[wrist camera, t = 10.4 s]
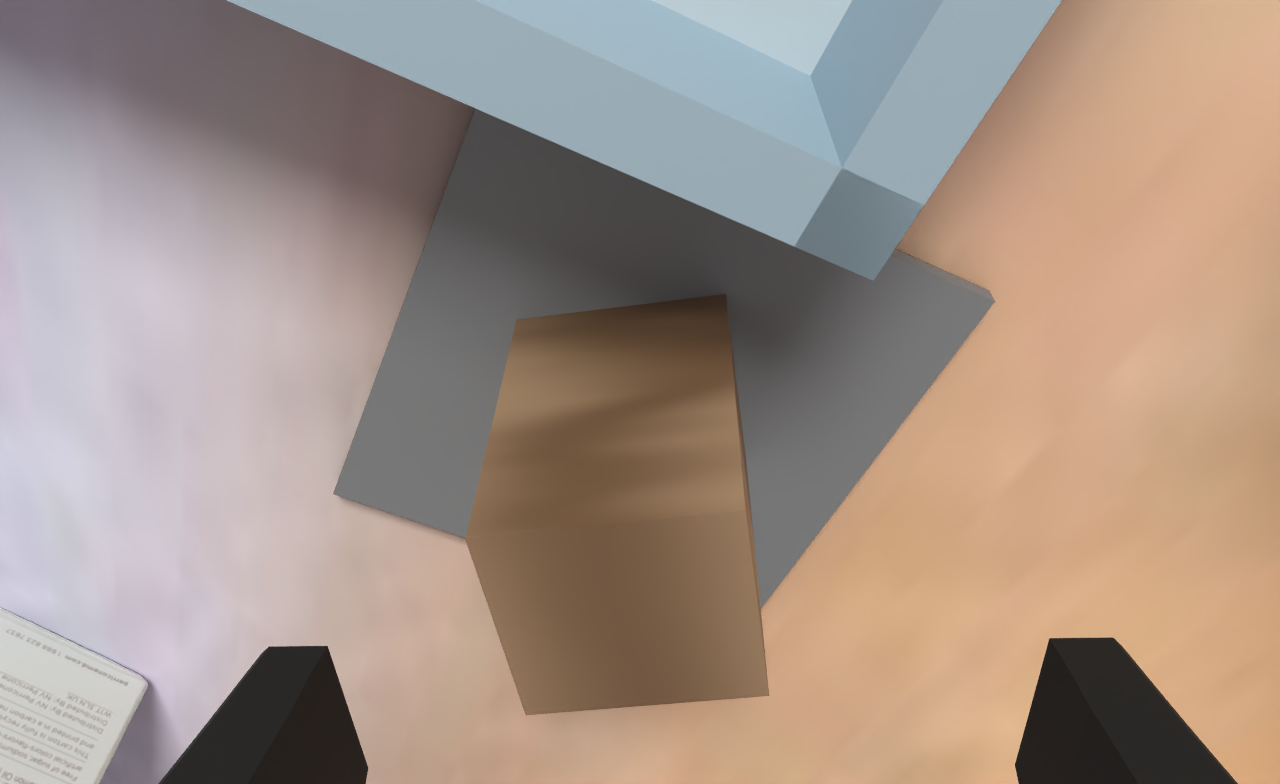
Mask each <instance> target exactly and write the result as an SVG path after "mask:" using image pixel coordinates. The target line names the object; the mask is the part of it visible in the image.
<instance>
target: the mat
mask: <svg viewBox="0 0 1280 784" xmlns="http://www.w3.org/2000/svg"><path fill="white" fill-rule="evenodd" d="M722 294H726V299H727V307H728V315H729V323H730V331H731V340H732V348H733V356H734V364H735V373H736V381H737V389H738V397H739V405H740V414H741V422H742V430H743V438H744V447H745V455H746V464H747V474H748V484H749V495H750V505H751V515H752V526H753V536H754V546H755V557H756V567H757V577H758V587H759V598H760V608H762V607H763V605H764V604H765V603H766V601H767V600H768V599H769V597H770V596H771V595H772V593H773V592H774V591H775V589H776V588H777V587H778V586H779V584H780V583H781V582H782V580H783V579H784V578H785V576H786V575H787V574H788V572H789V571H790V570H791V568H792V567H793V566H794V565H795V563H796V562H797V561H798V559H799V558H800V557H801V555H802V554H803V553H804V551H805V550H806V549H807V547H808V546H809V545H810V544H811V542H812V541H813V540H814V538H815V537H816V536H817V534H818V533H819V532H820V530H821V529H822V528H823V526H824V525H825V524H826V523H827V521H828V520H829V519H830V517H831V516H832V515H833V513H834V512H835V511H836V509H837V508H838V507H839V505H840V504H841V503H842V502H843V500H844V499H845V498H846V496H847V495H848V494H849V492H850V491H851V490H852V488H853V487H854V486H855V484H856V483H857V482H858V481H859V479H860V478H861V477H862V475H863V474H864V473H865V471H866V470H867V469H868V467H869V466H870V465H871V463H872V462H873V461H874V460H875V458H876V457H877V456H878V454H879V453H880V452H881V450H882V449H883V448H884V446H885V445H886V444H887V442H888V441H889V440H890V439H891V437H892V436H893V435H894V433H895V432H896V431H897V429H898V428H899V427H900V425H901V424H902V423H903V421H904V420H905V419H906V418H907V416H908V415H909V414H910V412H911V411H912V410H913V408H914V407H915V406H916V404H917V403H918V402H919V400H920V399H921V398H922V396H923V395H924V394H925V393H926V391H927V390H928V389H929V387H930V386H931V385H932V383H933V382H934V381H935V379H936V378H937V377H938V375H939V374H940V373H941V372H942V370H943V369H944V368H945V366H946V365H947V364H948V362H949V361H950V360H951V358H952V357H953V356H954V354H955V353H956V352H957V351H958V349H959V348H960V347H961V345H962V344H963V343H964V341H965V340H966V339H967V337H968V336H969V335H970V333H971V332H972V331H973V330H974V328H975V327H976V326H977V324H978V323H979V322H980V320H981V319H982V318H983V316H984V315H985V314H986V312H987V311H988V310H989V309H990V307H991V306H992V305H993V303H994V302H995V301H994V299H993V297H992V295H991V293H990V291H989V290H986V289H984V288H982V287H980V286H977V285H975V284H973V283H971V282H968V281H966V280H964V279H962V278H959V277H957V276H955V275H953V274H950V273H948V272H946V271H944V270H941V269H939V268H937V267H935V266H932V265H930V264H928V263H926V262H923V261H921V260H919V259H917V258H914V257H912V256H910V255H908V254H905V253H903V252H901V251H899V250H896V249H894V251H893V252H892V254H891V255H890V257H889V258H888V260H887V261H886V263H885V264H884V266H883V267H882V269H881V270H880V272H879V273H878V275H877V276H876V278H875V279H874V281H873V280H870V279H868V278H866V277H863V276H861V275H859V274H856V273H854V272H852V271H850V270H847V269H845V268H843V267H840V266H838V265H836V264H833V263H831V262H829V261H827V260H824V259H822V258H820V257H817V256H815V255H813V254H810V253H808V252H806V251H803V250H801V249H799V248H797V247H794V246H792V245H790V244H787V243H785V242H783V241H780V240H778V239H776V238H773V237H771V236H769V235H767V234H764V233H762V232H760V231H757V230H755V229H753V228H750V227H748V226H746V225H743V224H741V223H739V222H737V221H734V220H732V219H730V218H727V217H725V216H723V215H720V214H718V213H716V212H713V211H711V210H709V209H707V208H704V207H702V206H700V205H697V204H695V203H693V202H690V201H688V200H686V199H683V198H681V197H679V196H677V195H674V194H672V193H670V192H667V191H665V190H663V189H660V188H658V187H656V186H653V185H651V184H649V183H647V182H644V181H642V180H640V179H637V178H635V177H633V176H630V175H628V174H626V173H623V172H621V171H619V170H617V169H614V168H612V167H610V166H607V165H605V164H603V163H600V162H598V161H596V160H593V159H591V158H589V157H587V156H584V155H582V154H580V153H577V152H575V151H573V150H570V149H568V148H566V147H563V146H561V145H559V144H557V143H554V142H552V141H550V140H547V139H545V138H543V137H540V136H538V135H536V134H533V133H531V132H529V131H527V130H524V129H522V128H520V127H517V126H515V125H513V124H510V123H508V122H506V121H503V120H501V119H499V118H497V117H494V116H492V115H490V114H487V113H485V112H483V111H480V110H478V109H476V108H475V110H474V113H473V116H472V119H471V121H470V124H469V127H468V129H467V132H466V135H465V138H464V140H463V143H462V146H461V148H460V151H459V154H458V157H457V159H456V162H455V165H454V167H453V170H452V173H451V176H450V178H449V181H448V184H447V186H446V189H445V192H444V195H443V197H442V200H441V203H440V205H439V208H438V211H437V214H436V216H435V219H434V222H433V224H432V227H431V230H430V233H429V235H428V238H427V241H426V243H425V246H424V249H423V251H422V254H421V257H420V260H419V262H418V265H417V268H416V270H415V273H414V276H413V279H412V281H411V284H410V287H409V289H408V292H407V295H406V298H405V300H404V303H403V306H402V308H401V311H400V314H399V317H398V319H397V322H396V325H395V327H394V330H393V333H392V336H391V338H390V341H389V344H388V346H387V349H386V352H385V355H384V357H383V360H382V363H381V365H380V368H379V371H378V374H377V376H376V379H375V382H374V384H373V387H372V390H371V393H370V395H369V398H368V401H367V403H366V406H365V409H364V412H363V414H362V417H361V420H360V422H359V425H358V428H357V430H356V433H355V436H354V439H353V441H352V444H351V447H350V449H349V452H348V455H347V458H346V460H345V463H344V466H343V468H342V471H341V474H340V477H339V479H338V482H337V485H336V487H335V490H334V493H333V494H335V495H338V496H341V497H344V498H347V499H350V500H353V501H356V502H359V503H362V504H365V505H368V506H370V507H373V508H376V509H379V510H382V511H385V512H388V513H391V514H394V515H397V516H400V517H403V518H406V519H409V520H412V521H415V522H418V523H421V524H424V525H427V526H430V527H433V528H436V529H439V530H442V531H445V532H448V533H451V534H454V535H457V536H460V537H463V538H466V533H467V529H468V525H469V521H470V516H471V512H472V508H473V503H474V499H475V495H476V491H477V486H478V482H479V478H480V473H481V469H482V465H483V461H484V456H485V452H486V448H487V443H488V439H489V435H490V431H491V426H492V422H493V418H494V413H495V409H496V405H497V401H498V396H499V392H500V388H501V384H502V379H503V375H504V371H505V366H506V362H507V358H508V354H509V349H510V345H511V341H512V336H513V332H514V328H515V324H516V320H517V319H525V318H533V317H541V316H550V315H558V314H566V313H574V312H582V311H591V310H599V309H607V308H615V307H623V306H632V305H640V304H648V303H656V302H664V301H673V300H681V299H689V298H697V297H705V296H714V295H722Z"/></svg>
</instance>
